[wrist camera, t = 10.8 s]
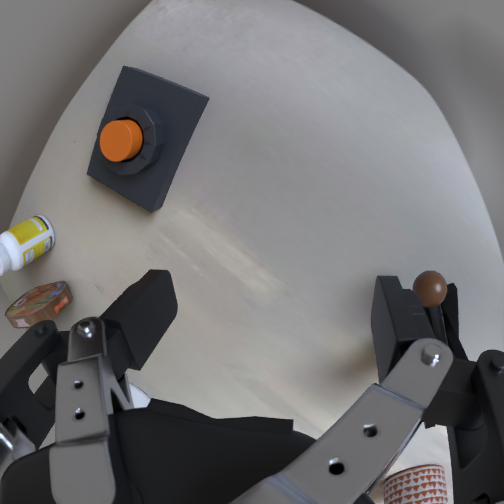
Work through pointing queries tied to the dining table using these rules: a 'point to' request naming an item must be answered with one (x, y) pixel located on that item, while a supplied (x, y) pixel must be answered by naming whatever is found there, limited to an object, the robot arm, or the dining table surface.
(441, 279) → the ball-knob lever
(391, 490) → the planter
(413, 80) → the dining table surface
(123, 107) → the button base
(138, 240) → the dining table surface
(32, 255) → the supplement bottle
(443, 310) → the switch bracket
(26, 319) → the tin
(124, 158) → the button
